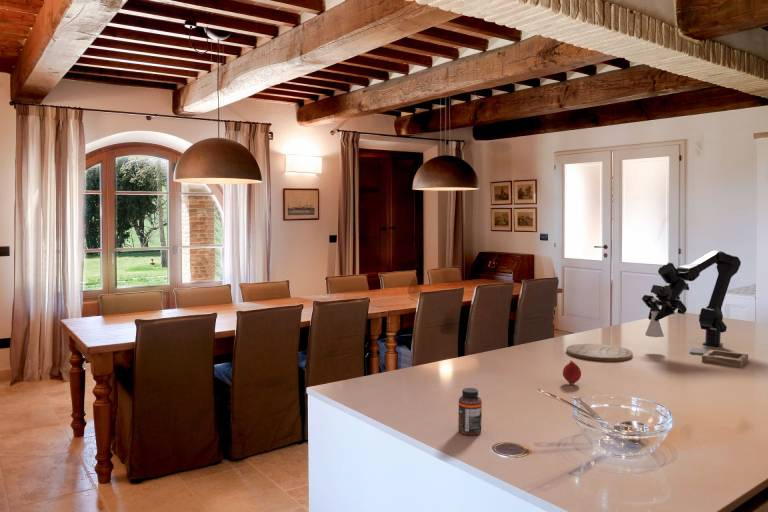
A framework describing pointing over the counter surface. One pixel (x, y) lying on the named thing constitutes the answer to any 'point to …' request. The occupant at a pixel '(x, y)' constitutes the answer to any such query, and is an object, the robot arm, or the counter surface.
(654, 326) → the flask
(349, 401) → the counter surface
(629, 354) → the trivet
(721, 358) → the tray
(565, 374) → the onion
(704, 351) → the slate coaster
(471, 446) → the counter surface
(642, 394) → the counter surface
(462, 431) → the supplement bottle
